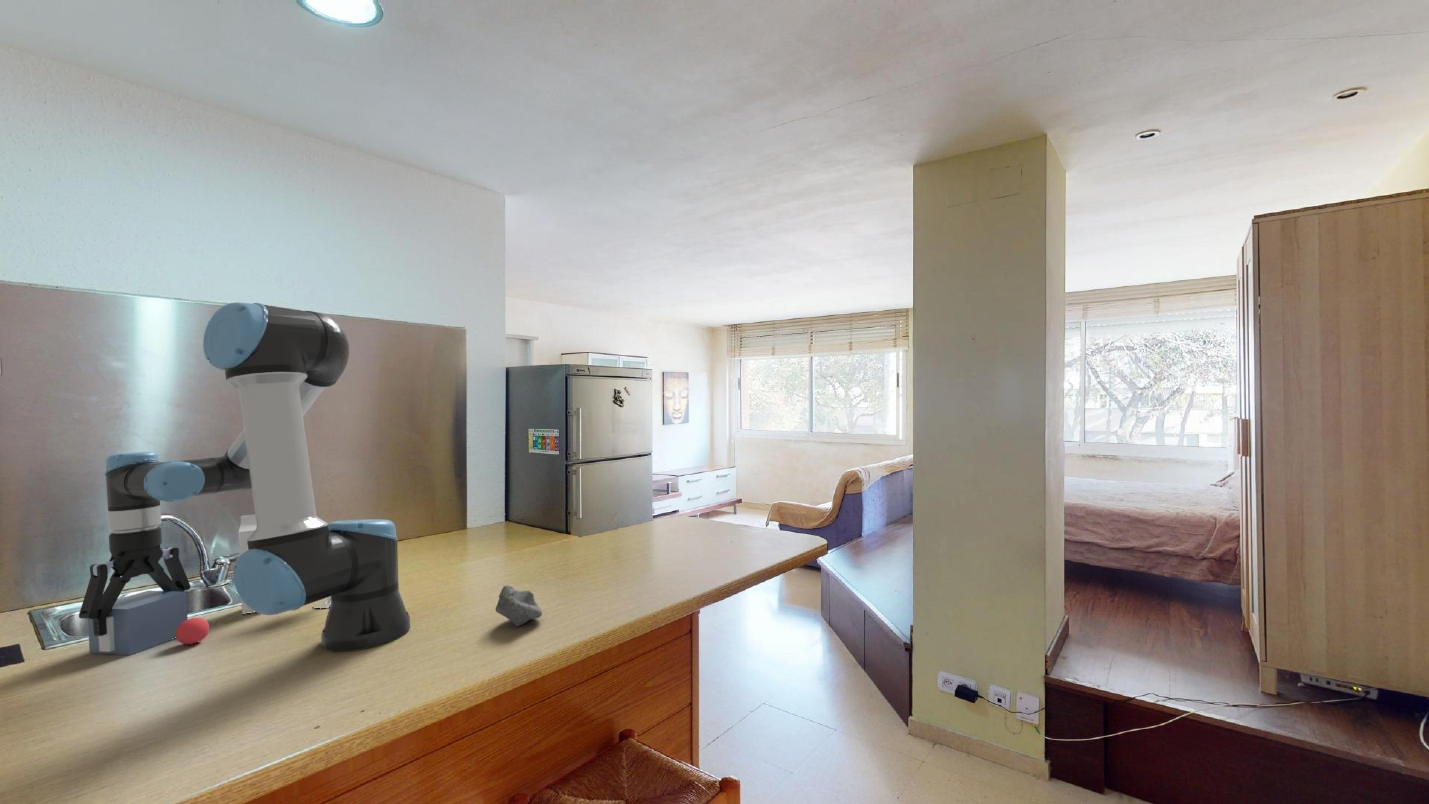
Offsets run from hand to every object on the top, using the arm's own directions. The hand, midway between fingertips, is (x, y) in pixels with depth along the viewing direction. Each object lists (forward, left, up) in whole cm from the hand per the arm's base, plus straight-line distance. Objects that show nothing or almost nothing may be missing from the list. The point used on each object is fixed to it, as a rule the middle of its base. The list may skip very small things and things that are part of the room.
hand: (140, 639), depth 117 cm
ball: (-12, -1, +2) cm, 12 cm away
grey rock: (-74, -17, -1) cm, 76 cm away
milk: (-6, -20, -1) cm, 21 cm away
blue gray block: (0, 0, -1) cm, 1 cm away
